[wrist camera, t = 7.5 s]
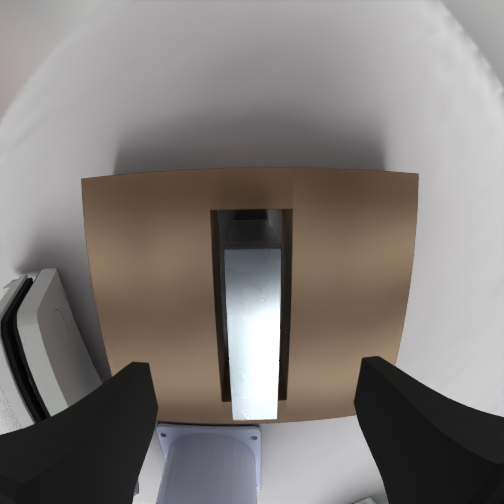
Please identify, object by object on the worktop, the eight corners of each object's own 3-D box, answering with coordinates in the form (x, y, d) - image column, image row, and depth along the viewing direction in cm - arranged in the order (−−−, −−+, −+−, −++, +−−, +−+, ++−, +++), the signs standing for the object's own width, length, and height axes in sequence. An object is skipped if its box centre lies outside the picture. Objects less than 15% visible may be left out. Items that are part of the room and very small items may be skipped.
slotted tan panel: (365, 376, 21) (383, 410, 17) (140, 380, 21) (124, 416, 17) (386, 171, 18) (418, 173, 14) (112, 175, 17) (81, 178, 14)
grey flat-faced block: (267, 345, 20) (276, 419, 13) (236, 345, 20) (233, 420, 13) (268, 219, 18) (281, 248, 12) (232, 220, 18) (224, 249, 11)
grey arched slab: (8, 276, 19) (-53, 325, 10) (61, 260, 20) (16, 304, 11) (91, 445, 23) (91, 529, 14) (136, 435, 24) (149, 521, 15)
